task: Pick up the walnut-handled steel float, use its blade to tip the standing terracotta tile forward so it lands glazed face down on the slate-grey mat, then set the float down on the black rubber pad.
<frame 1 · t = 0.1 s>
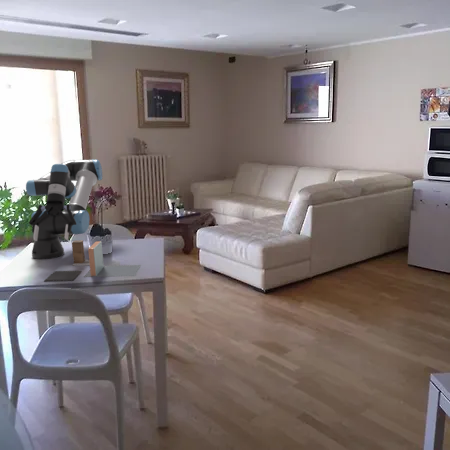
hand: (50, 239, 204), 15 cm above the table, fingers open, 13 cm apart
float tool: (79, 264, 219), on the table
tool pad: (63, 277, 201), on the table
mat: (113, 271, 206), on the table
tile: (97, 271, 206), resting on mat
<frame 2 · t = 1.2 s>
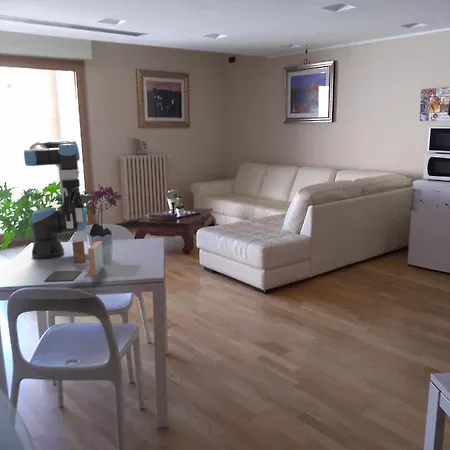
hand: (75, 224, 215), 19 cm above the table, fingers open, 13 cm apart
nothing on the table moved.
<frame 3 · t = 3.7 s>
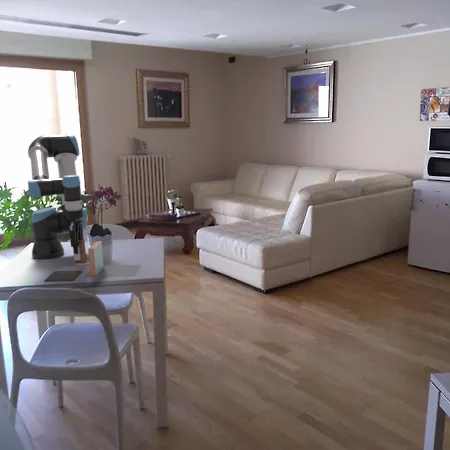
hand: (79, 258, 218), 3 cm above the table, fingers closed on float tool, 4 cm apart
float tool: (81, 263, 219), on the table, touching gripper
everything else where it was.
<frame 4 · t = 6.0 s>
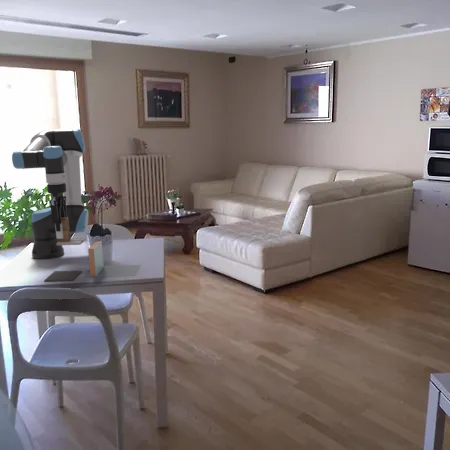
hand: (61, 236, 202), 17 cm above the table, fingers closed on float tool, 4 cm apart
float tool: (64, 242, 203), point 14 cm above the table, touching gripper
everything else where it was.
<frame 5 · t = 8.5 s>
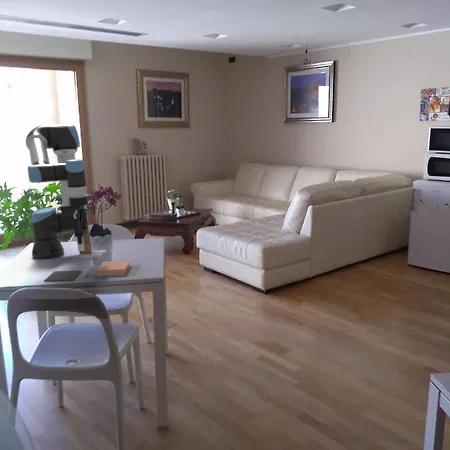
hand: (83, 249, 204), 11 cm above the table, fingers closed on float tool, 4 cm apart
float tool: (85, 255, 204), point 8 cm above the table, touching gripper
tile: (100, 268, 206), point 2 cm above the table, tilted 90°, touching mat
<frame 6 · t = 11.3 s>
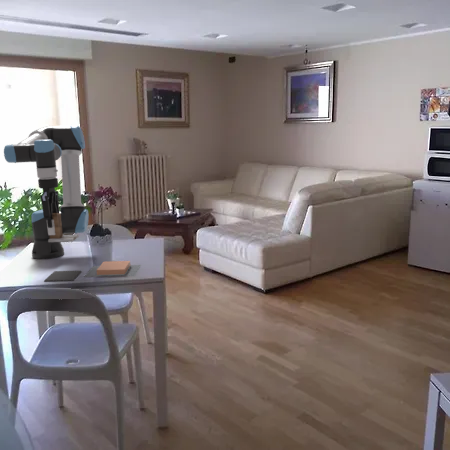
hand: (53, 233, 196), 20 cm above the table, fingers closed on float tool, 4 cm apart
float tool: (56, 239, 197), point 17 cm above the table, touching gripper
everything else where it was.
when the fingers open (5 cm above the table, at t = 14.0 s): float tool drops 1 cm, resting on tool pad.
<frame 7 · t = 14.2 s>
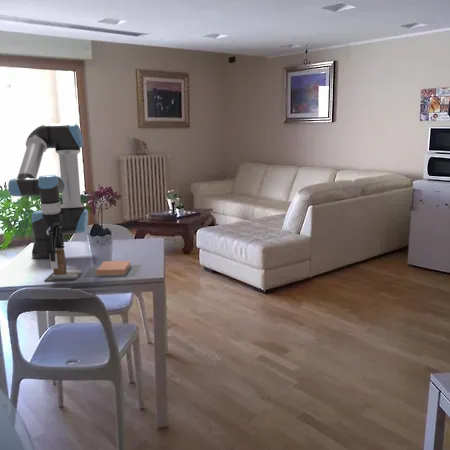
hand: (57, 265, 199), 5 cm above the table, fingers open, 6 cm apart
float tool: (60, 275, 200), point 1 cm above the table, touching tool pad
everything else where it was.
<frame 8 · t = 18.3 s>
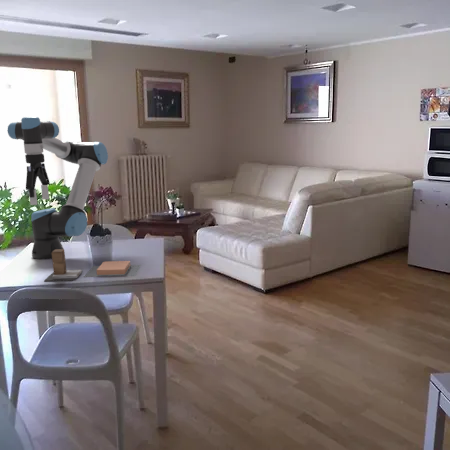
hand: (40, 202, 207), 31 cm above the table, fingers open, 13 cm apart
nothing on the table moved.
at the end: tile tilted 90°; tile inside the target area on the mat (1.6 cm from its centre), point 1.7 cm above the mat's base; float tool inside the target area on the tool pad (0.2 cm from its centre), point 1.0 cm above the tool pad's base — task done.
